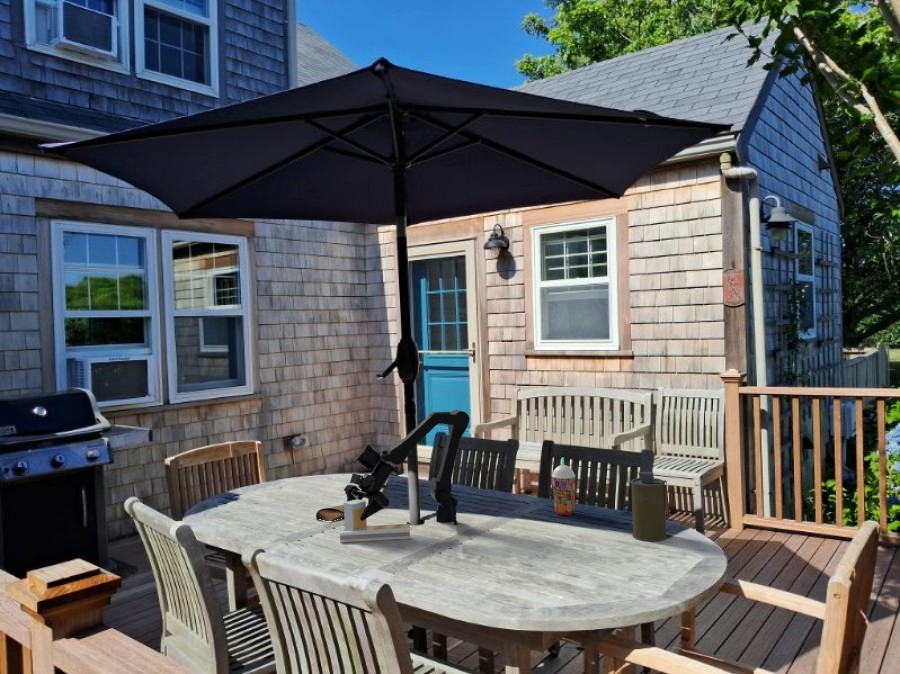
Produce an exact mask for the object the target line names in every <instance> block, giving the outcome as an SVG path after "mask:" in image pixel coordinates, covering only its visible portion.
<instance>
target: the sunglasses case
mask: <svg viewBox="0 0 900 674" xmlns="http://www.w3.org/2000/svg"><path fill="white" fill-rule="evenodd" d="M315 518H316V520H317V519H321V520H325V521H334V520H337V519H341V518H344V504H342V505H336V506H335V505H334V506H331V507H326V508H325V507H324V508H321V509H319V510H317V511H316V514H315ZM334 522H335V521H334Z"/></svg>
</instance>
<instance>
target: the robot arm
mask: <svg viewBox="0 0 900 674" xmlns="http://www.w3.org/2000/svg"><path fill="white" fill-rule="evenodd" d="M469 423H470V415H469V414H468V413H467V412H466V411H464V410H460V409H454V410H452V411H431V412H430V413H429V414H428V416H426V418H425V419H423V420H422V421H421V422H420V423H419V424H418V425H417V426H416V427H415V428H413V430H411V431H410V432H409V433H408V434H407V435H406V436H405V437H404V438H402V439H400V440H398V441H396V442H394V443H393V444H392V445H390V446H389V447H388V448H387V449H385V450H381V451H378V452H377V450H375V449H374V448H373V446H371V445H370V444H369V443H367V444H365V446H363V447H362V448H361V449H360V450H359V451H358V452H357V453H356V455H355V456H354V461H355V462H357V463H358V464H359V465H361V466H362V467H363V468H364V469H366V470H367V471H369V470H373V471H372V472H371V474H368V473H364V474H363V475H361V474H358V473H352V474H351V477H350V481H349V483H350V484H347V485H346V486H345V488H344V489H343V491H344V494H345V496H346V498H347V499H346V502H348V501H352V500H356V499H359V500H363V499H367V501H368V502H367V504H366V508H365V510H364V512H363V514H362V516H361V518H360V520H361V521H363V520H365V519H366V520H367V519H368V518H370V517H371V516H373V515H374V514H376V513H378V512H380V511H382V510H384V509H388V507H389V506H390V504H391V499H390V498H389V497H388V496H387V495H386V494H385V493H384V492H383V491H382V489H384V490H385V489H386V488H387V486H386V483H387V481H388V480H389V478H390V476H392V475H393V476H397V475H399V473H400V472H399V468H398V466H397V465H402V464H404V462H405V461H406V459H407V458H408V456H409V455H410V454H411V452H412V450H413V449H414V447H415V446H416V445H417V444H418V443H420V441H421V440H423V439H424V438H425V436H427V435H428V434H429V433H430V432H431V431H432V430H433V429H435V427H437V425H447V432H448V435H447V440H446V443H445V447H444V452H443V455H442V459H441V463H440V468H439V470H438V471H439V473H438V475H437V476H436V478H435V477H431V482H430V486H429V487H428V489H429V490H430V491H429V493H430V496H431V497H432V499H434V500H435V501H436V504H437V508H436V509H435V520H436V523H446V524H447V523H453V525H454V526H455V525H458V522H457V505H458V502H459V501H458V500H457V498H455V497H454V496H453V495H452V491H453V490H452V488H453V487H452V475H453V471H454V466H455V464H456V460H457V456H458V451H459V448H460V442H461V438H462V437H463V435H464V433H465V432H466V430H467V428H468V426H469ZM389 462H390V463H389ZM393 465H396V466H393ZM356 485H357V486H356Z"/></svg>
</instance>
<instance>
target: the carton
mask: <svg viewBox="0 0 900 674" xmlns="http://www.w3.org/2000/svg"><path fill="white" fill-rule="evenodd" d="M366 502H367V501H366V500H363V499H362V500H359V499H356V500H352V501H348V502H347V501H344V502H343V505H344V519H343V520H344V529H345V531H360V530H367V526H368V525H367V518H366V519H365V520H363V521H361V520H360V518H361V516H362V514H363V512H364V510H365V508H366V507H367V504H366Z"/></svg>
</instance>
